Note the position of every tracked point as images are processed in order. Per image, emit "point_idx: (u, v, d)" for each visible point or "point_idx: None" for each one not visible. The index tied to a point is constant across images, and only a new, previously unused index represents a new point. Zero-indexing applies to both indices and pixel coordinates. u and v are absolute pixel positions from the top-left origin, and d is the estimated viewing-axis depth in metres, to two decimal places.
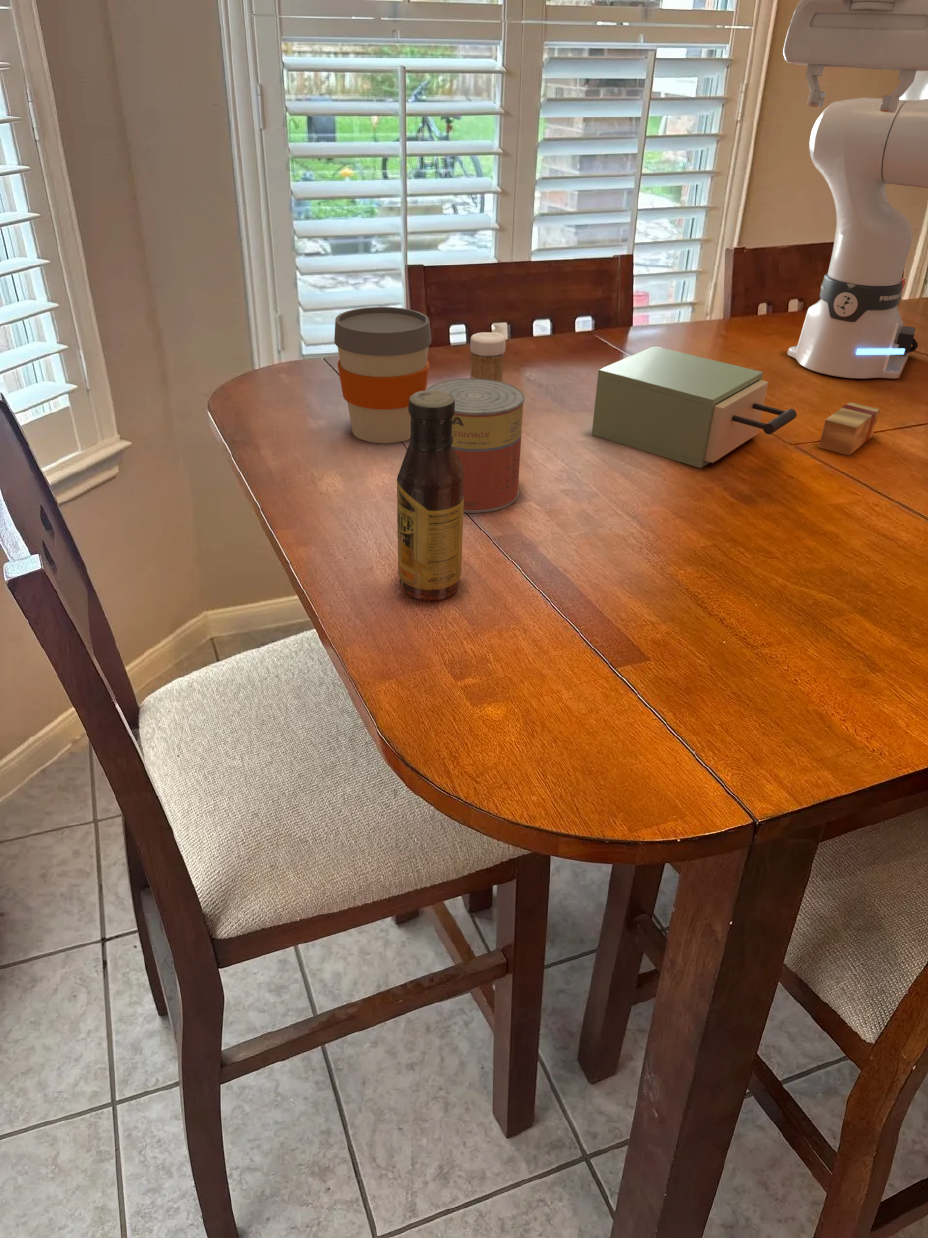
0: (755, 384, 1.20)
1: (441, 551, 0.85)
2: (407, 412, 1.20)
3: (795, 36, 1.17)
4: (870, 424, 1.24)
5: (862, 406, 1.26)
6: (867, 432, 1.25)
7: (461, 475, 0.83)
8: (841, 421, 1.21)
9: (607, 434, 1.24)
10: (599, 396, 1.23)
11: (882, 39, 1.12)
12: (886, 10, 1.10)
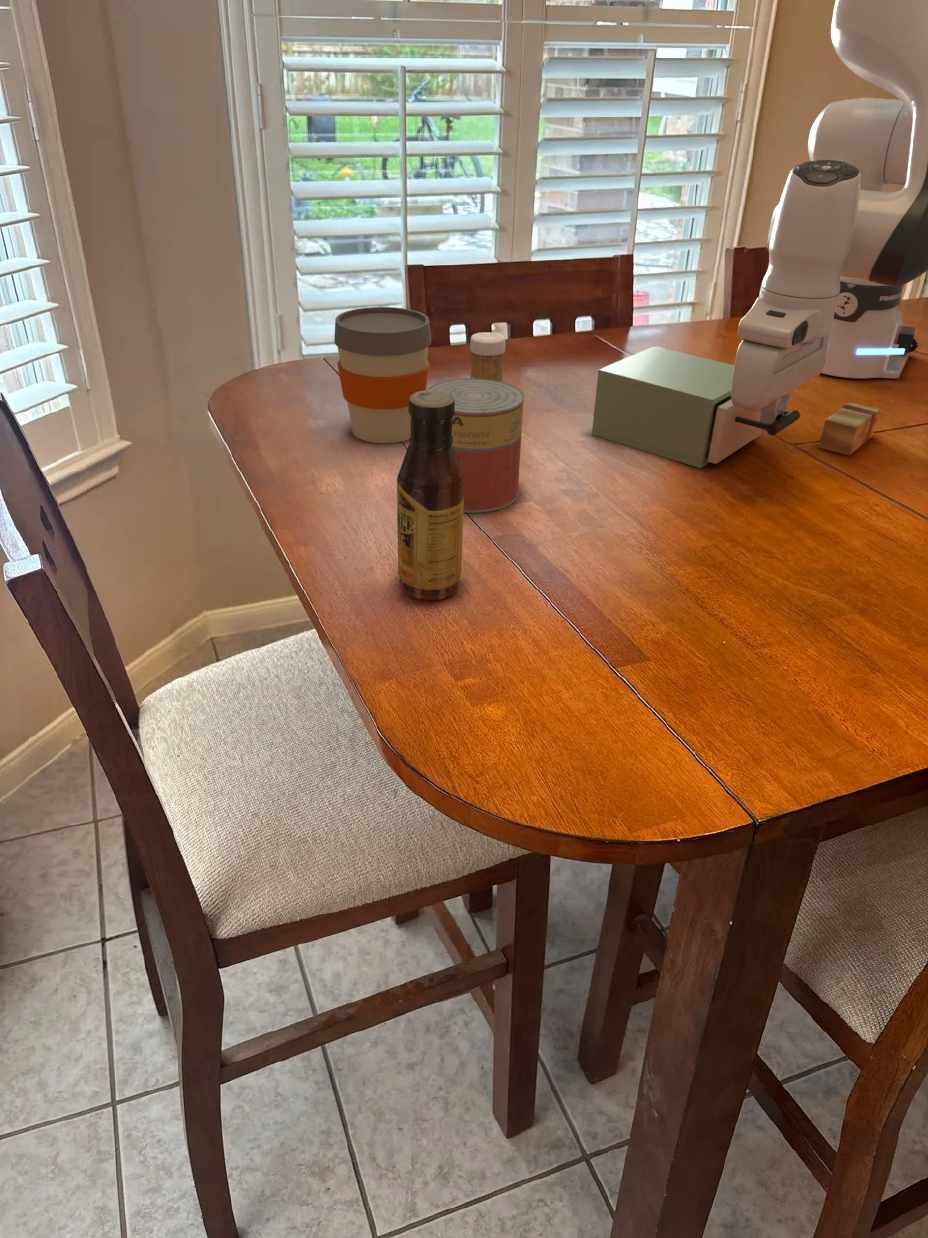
0: None
1: (441, 551, 0.85)
2: (407, 412, 1.20)
3: (767, 387, 1.06)
4: (870, 424, 1.24)
5: (862, 406, 1.26)
6: (867, 432, 1.25)
7: (461, 475, 0.83)
8: (841, 421, 1.21)
9: (607, 434, 1.24)
10: (599, 396, 1.23)
11: (804, 365, 1.13)
12: None
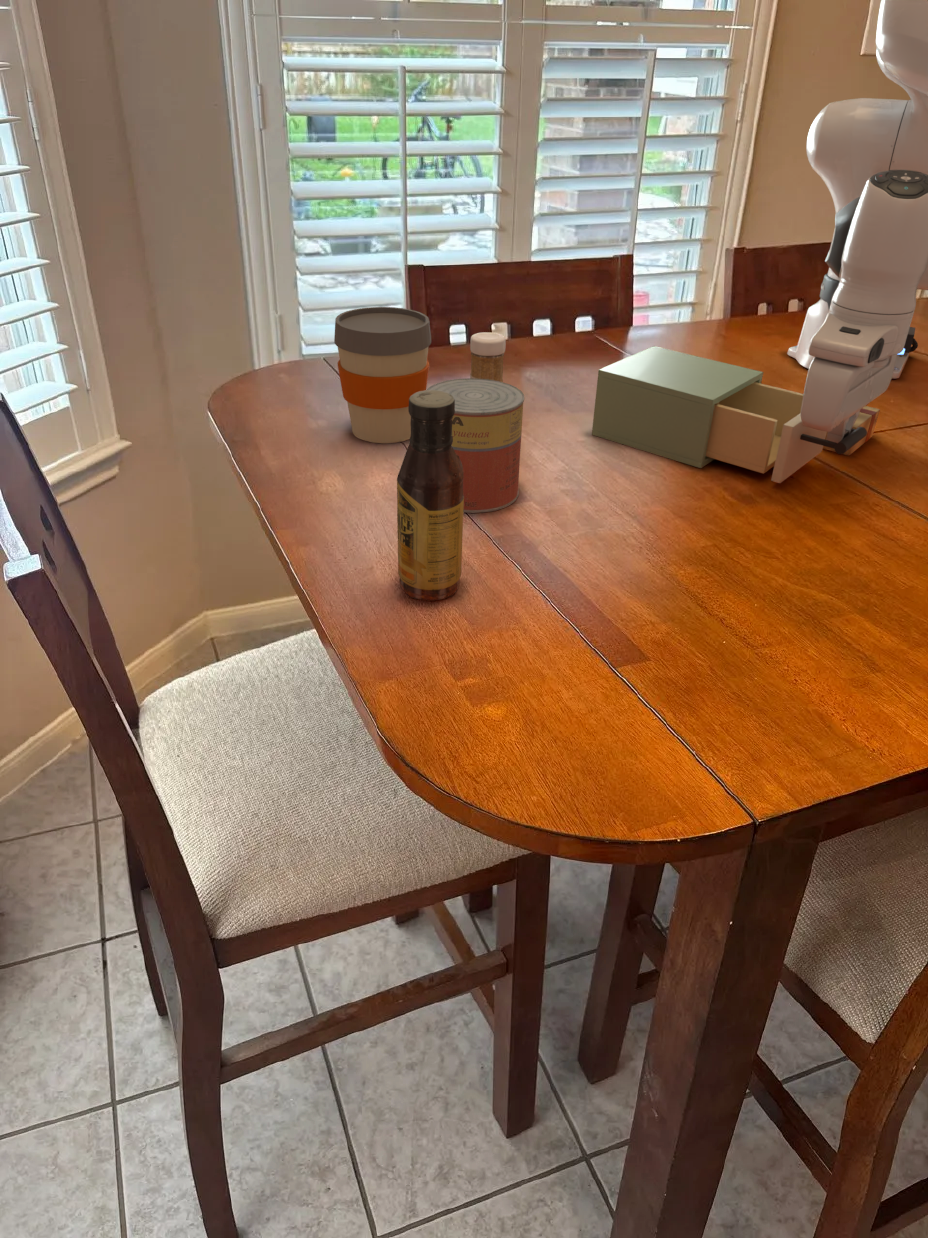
0: None
1: (441, 551, 0.85)
2: (407, 412, 1.20)
3: None
4: (870, 424, 1.24)
5: None
6: (867, 432, 1.25)
7: (461, 475, 0.83)
8: None
9: (607, 434, 1.24)
10: (599, 396, 1.23)
11: (873, 383, 1.09)
12: None
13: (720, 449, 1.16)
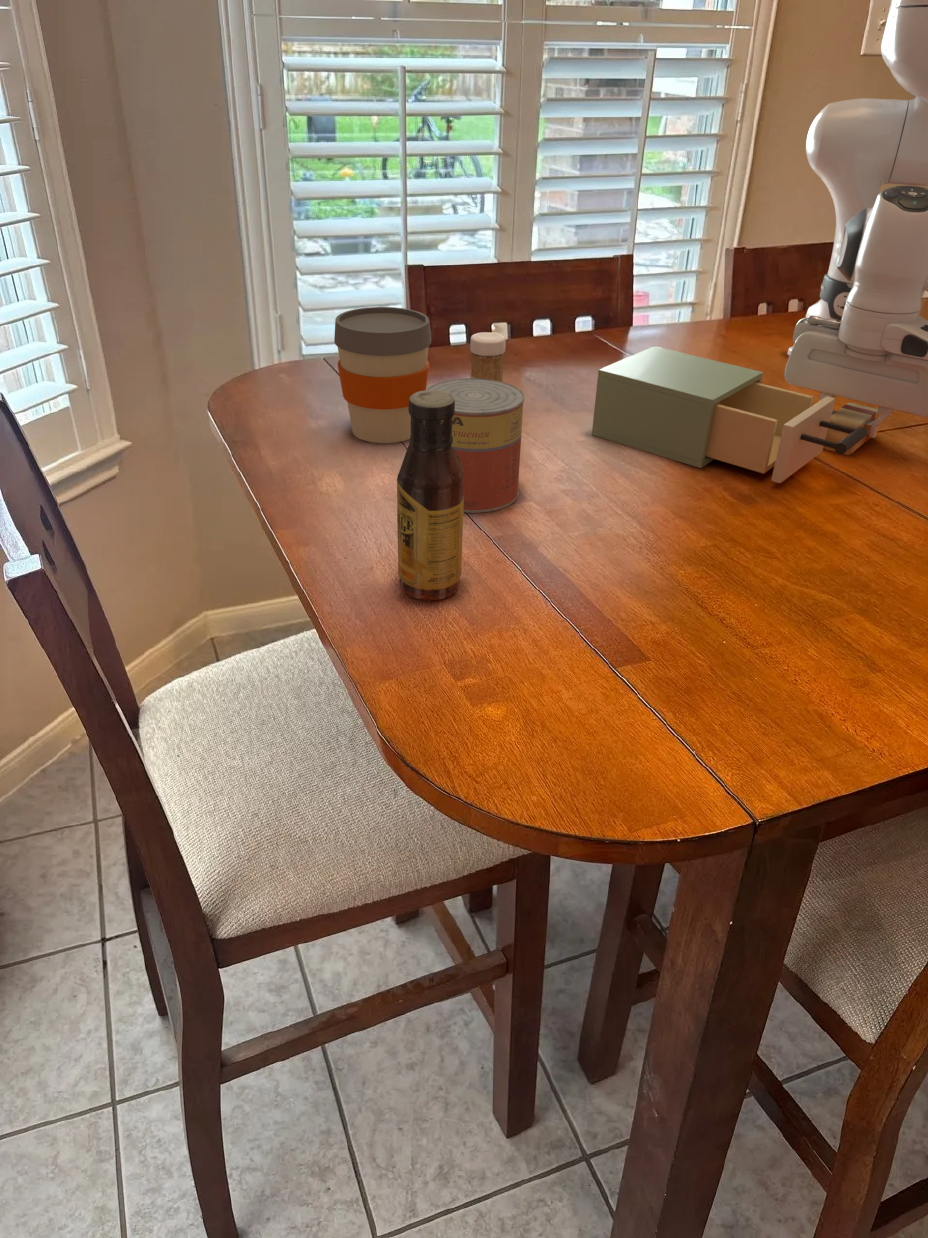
0: (822, 401, 1.15)
1: (441, 551, 0.85)
2: (407, 412, 1.20)
3: None
4: None
5: (862, 406, 1.26)
6: None
7: (461, 475, 0.83)
8: (841, 421, 1.21)
9: (607, 434, 1.24)
10: (599, 396, 1.23)
11: None
12: None
13: (720, 449, 1.16)
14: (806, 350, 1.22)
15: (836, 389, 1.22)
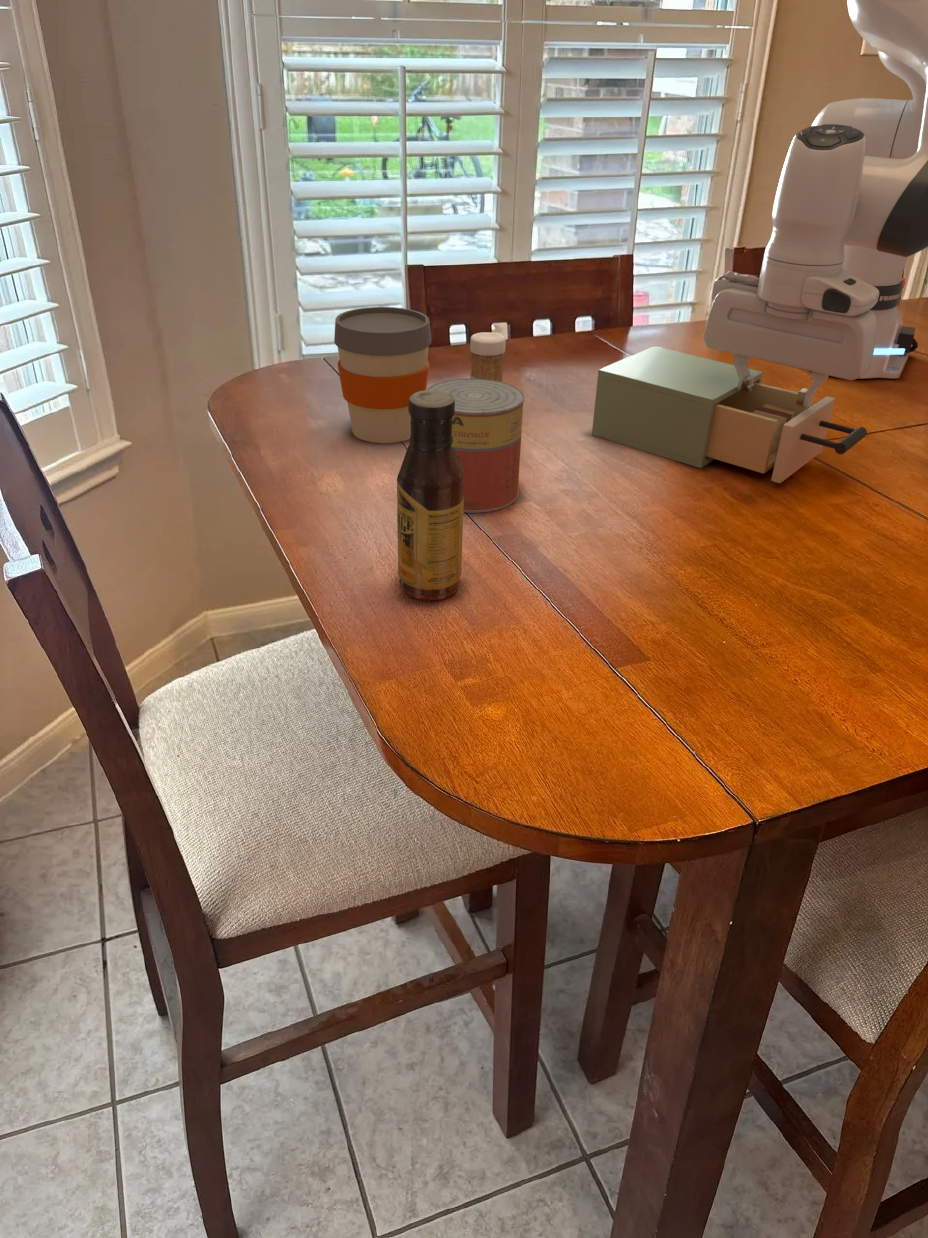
0: (822, 401, 1.15)
1: (441, 551, 0.85)
2: (407, 412, 1.20)
3: None
4: None
5: (778, 408, 1.19)
6: None
7: (461, 475, 0.83)
8: None
9: (607, 434, 1.24)
10: (599, 396, 1.23)
11: None
12: None
13: (720, 449, 1.16)
14: (725, 309, 1.12)
15: (757, 352, 1.12)
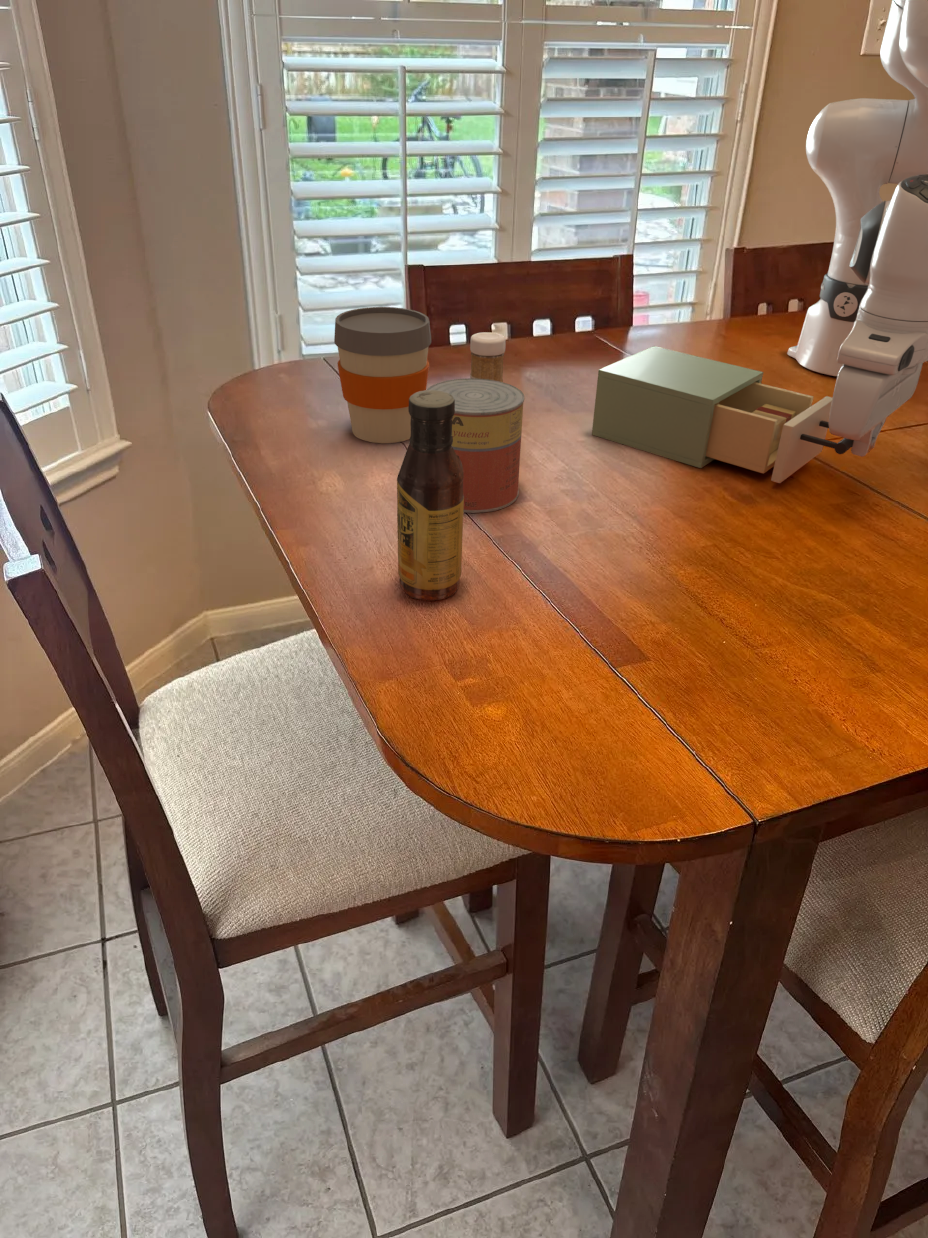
0: (822, 401, 1.15)
1: (441, 551, 0.85)
2: (407, 412, 1.20)
3: None
4: None
5: (778, 408, 1.19)
6: None
7: (461, 475, 0.83)
8: None
9: (607, 434, 1.24)
10: (599, 396, 1.23)
11: (900, 390, 1.07)
12: None
13: (720, 449, 1.16)
14: None
15: None
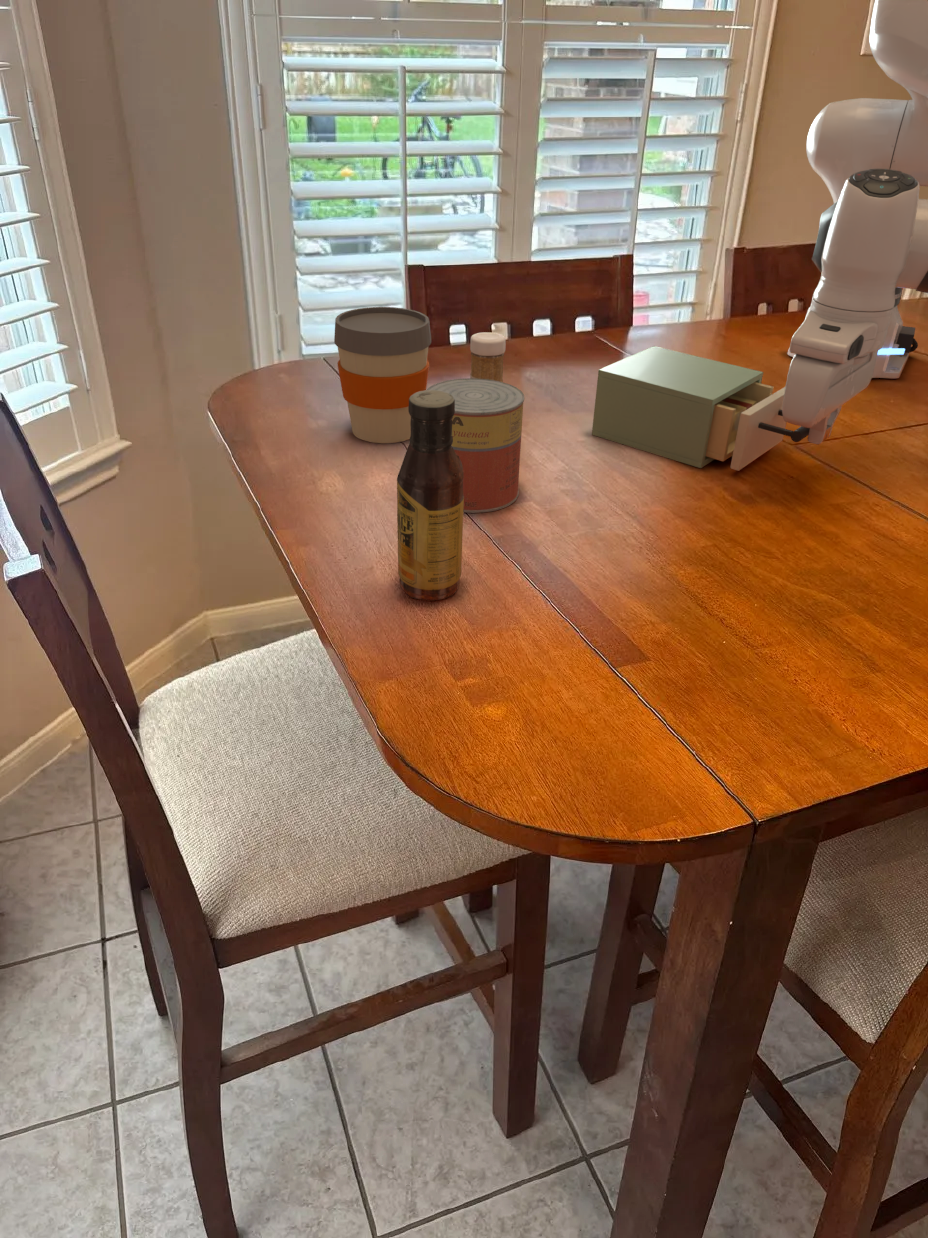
0: (781, 390, 1.18)
1: (441, 551, 0.85)
2: (407, 412, 1.20)
3: None
4: None
5: (739, 398, 1.22)
6: None
7: (461, 475, 0.83)
8: None
9: (607, 434, 1.24)
10: (599, 396, 1.23)
11: (854, 379, 1.10)
12: None
13: None
14: None
15: None
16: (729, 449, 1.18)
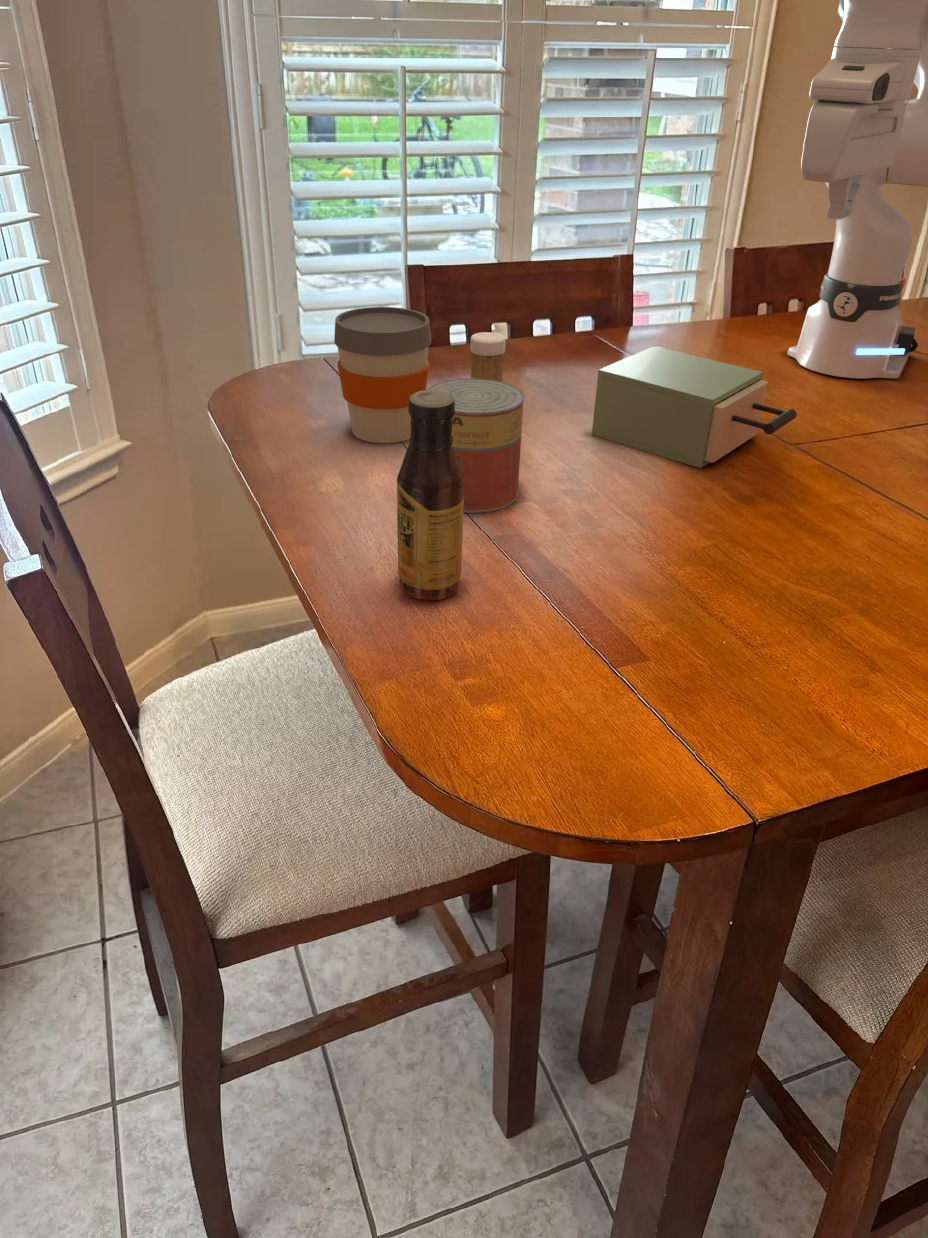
0: (755, 384, 1.20)
1: (441, 551, 0.85)
2: (407, 412, 1.20)
3: (843, 153, 0.96)
4: None
5: None
6: None
7: (461, 475, 0.83)
8: None
9: (607, 434, 1.24)
10: (599, 396, 1.23)
11: (878, 145, 1.03)
12: None
13: None
14: None
15: None
16: None
